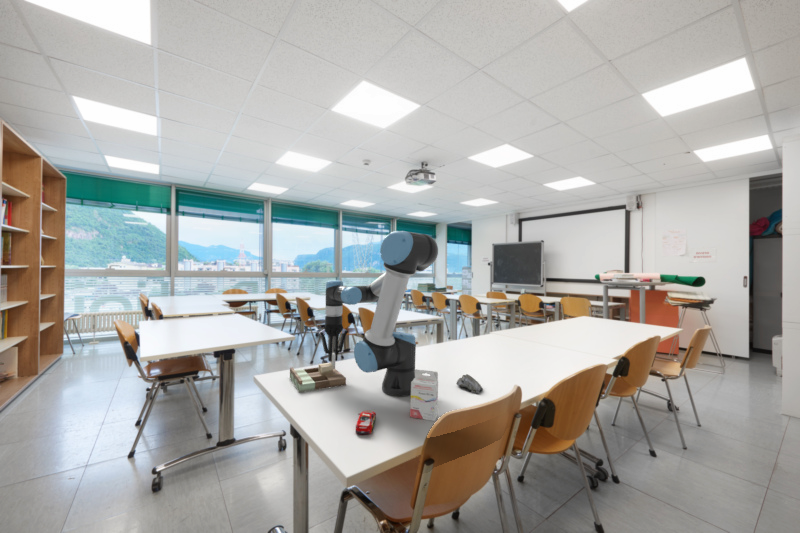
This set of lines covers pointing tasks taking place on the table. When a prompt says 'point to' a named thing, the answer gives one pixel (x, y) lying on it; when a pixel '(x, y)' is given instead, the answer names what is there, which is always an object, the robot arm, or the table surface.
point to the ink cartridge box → (424, 395)
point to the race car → (365, 422)
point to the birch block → (325, 369)
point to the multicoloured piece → (315, 379)
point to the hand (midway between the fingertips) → (332, 368)
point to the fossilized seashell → (469, 383)
